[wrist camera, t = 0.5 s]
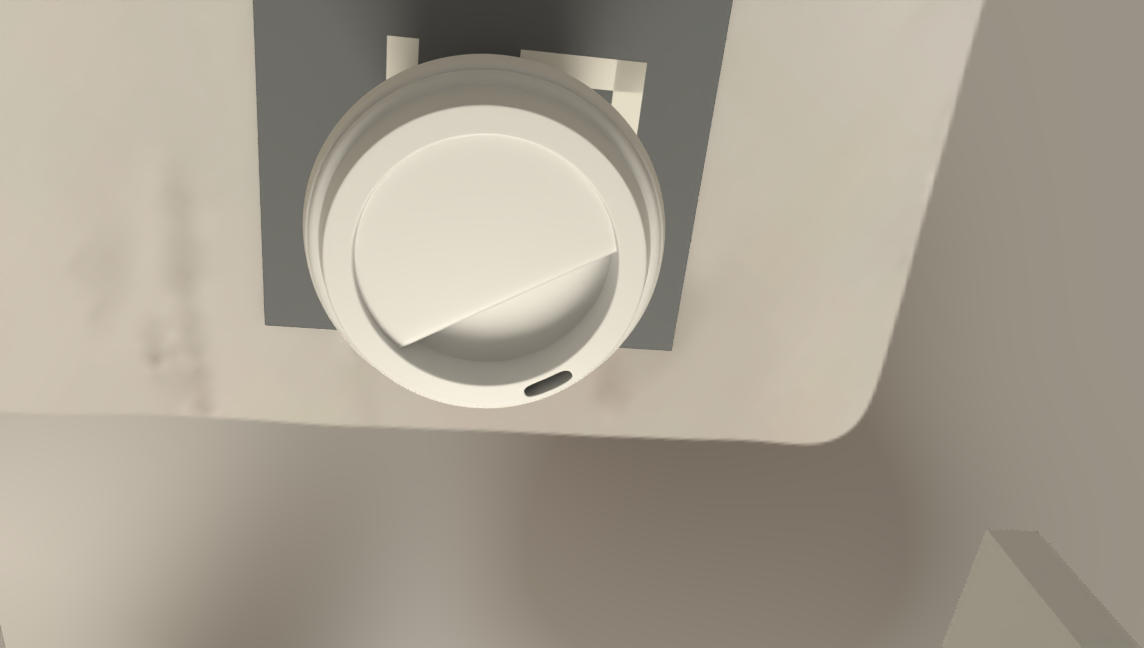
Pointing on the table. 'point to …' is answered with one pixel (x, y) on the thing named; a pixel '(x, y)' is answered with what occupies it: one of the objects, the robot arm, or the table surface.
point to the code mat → (482, 26)
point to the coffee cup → (484, 229)
